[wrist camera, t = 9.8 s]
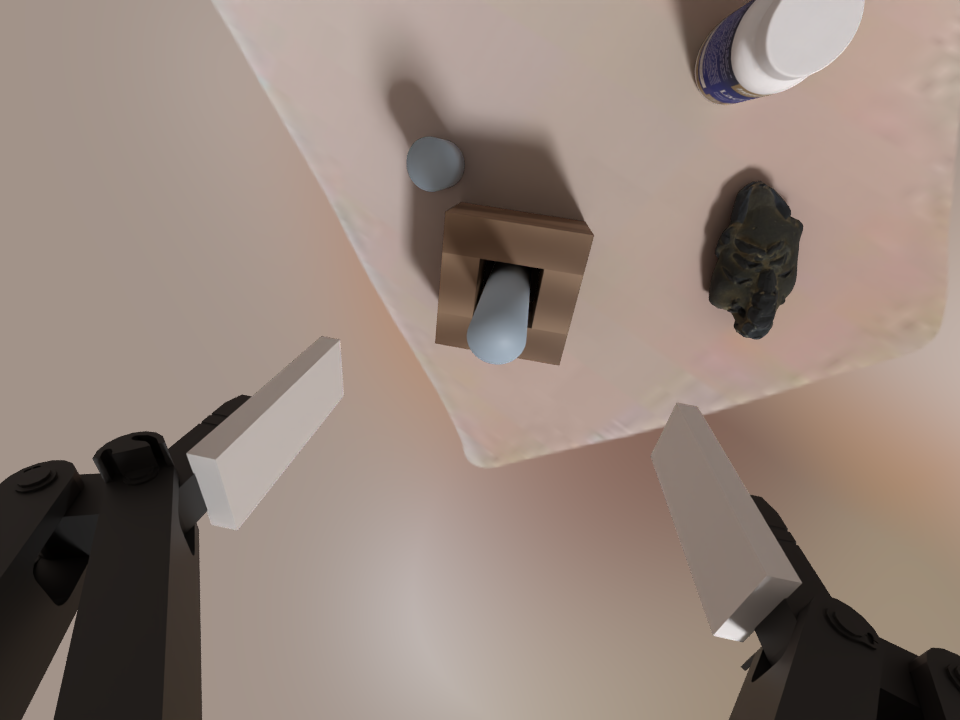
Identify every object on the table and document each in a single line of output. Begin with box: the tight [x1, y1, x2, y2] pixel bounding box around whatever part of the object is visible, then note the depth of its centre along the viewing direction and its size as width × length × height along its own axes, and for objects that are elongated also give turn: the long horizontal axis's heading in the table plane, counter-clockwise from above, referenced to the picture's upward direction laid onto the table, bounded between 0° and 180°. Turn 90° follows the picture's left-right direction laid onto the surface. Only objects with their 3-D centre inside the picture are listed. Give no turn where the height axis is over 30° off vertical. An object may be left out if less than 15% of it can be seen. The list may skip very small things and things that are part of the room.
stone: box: [709, 181, 803, 339], centre depth 34 cm, size 7×13×5 cm, turn 11°
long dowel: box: [467, 261, 531, 364], centre depth 32 cm, size 4×4×16 cm
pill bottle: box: [695, 0, 864, 105], centre depth 25 cm, size 6×6×10 cm
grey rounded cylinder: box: [407, 137, 465, 192], centre depth 33 cm, size 4×4×5 cm
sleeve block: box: [435, 202, 594, 365], centre depth 36 cm, size 12×12×7 cm
